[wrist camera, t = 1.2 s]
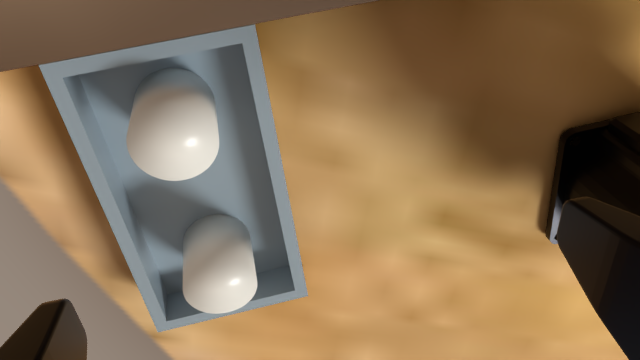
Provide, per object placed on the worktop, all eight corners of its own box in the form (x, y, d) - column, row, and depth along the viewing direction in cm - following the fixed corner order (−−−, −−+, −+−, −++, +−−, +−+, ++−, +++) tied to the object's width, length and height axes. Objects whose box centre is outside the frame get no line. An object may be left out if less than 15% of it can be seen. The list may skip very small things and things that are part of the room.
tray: (299, 262, 25) (313, 316, 22) (160, 295, 24) (156, 355, 21) (248, 5, 18) (259, 36, 15) (54, 41, 18) (28, 80, 15)
